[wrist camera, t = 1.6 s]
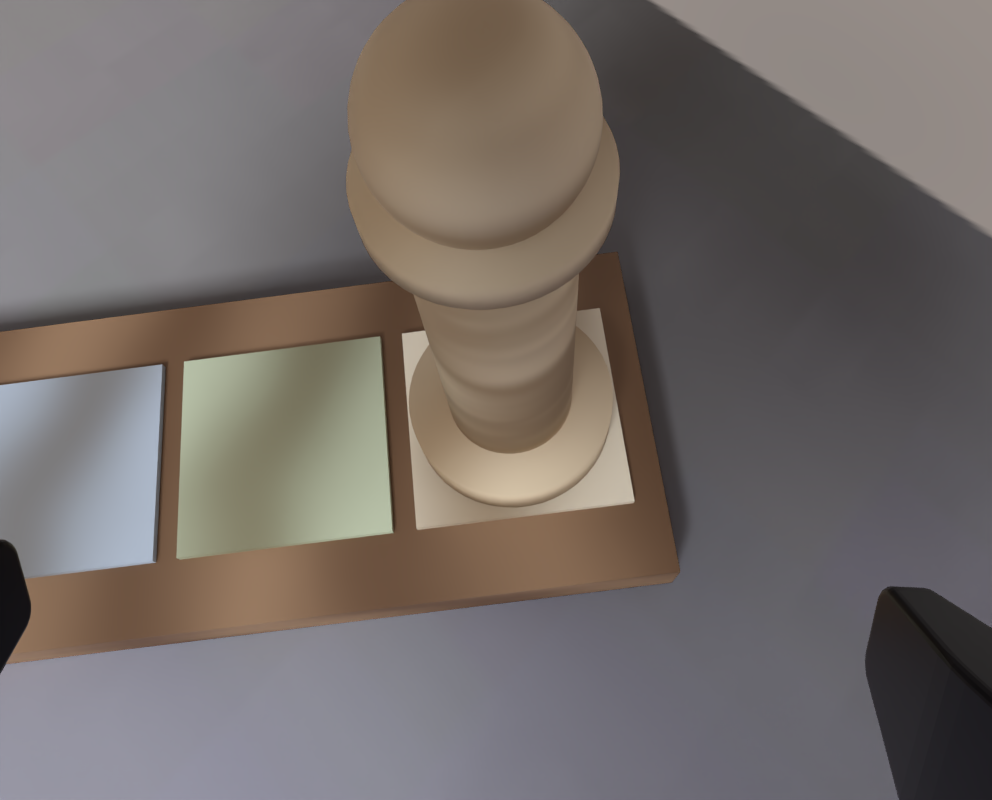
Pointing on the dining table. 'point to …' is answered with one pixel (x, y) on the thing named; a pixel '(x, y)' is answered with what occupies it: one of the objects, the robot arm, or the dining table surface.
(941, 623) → the robot arm
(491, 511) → the game board
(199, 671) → the dining table surface
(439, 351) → the pawn
